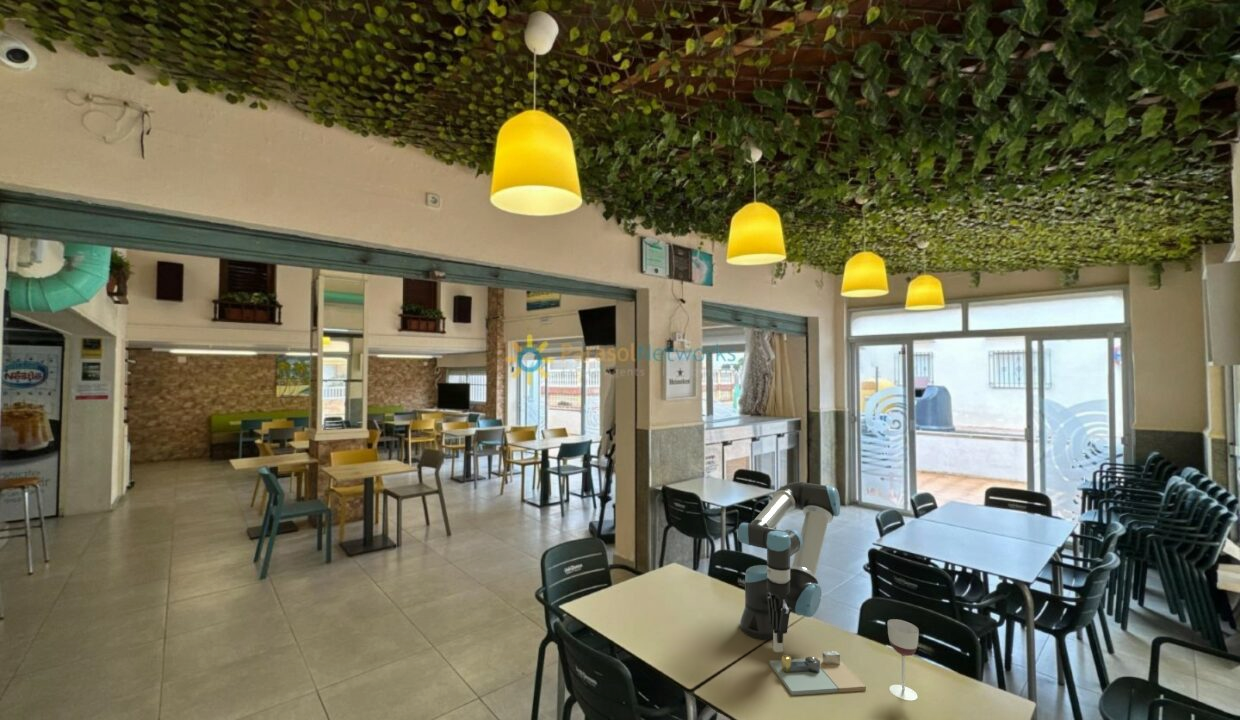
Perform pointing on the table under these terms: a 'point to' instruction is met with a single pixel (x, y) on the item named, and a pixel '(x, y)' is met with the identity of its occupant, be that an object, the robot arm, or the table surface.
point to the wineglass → (903, 652)
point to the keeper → (831, 658)
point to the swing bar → (800, 665)
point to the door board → (818, 679)
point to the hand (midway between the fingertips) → (777, 650)
